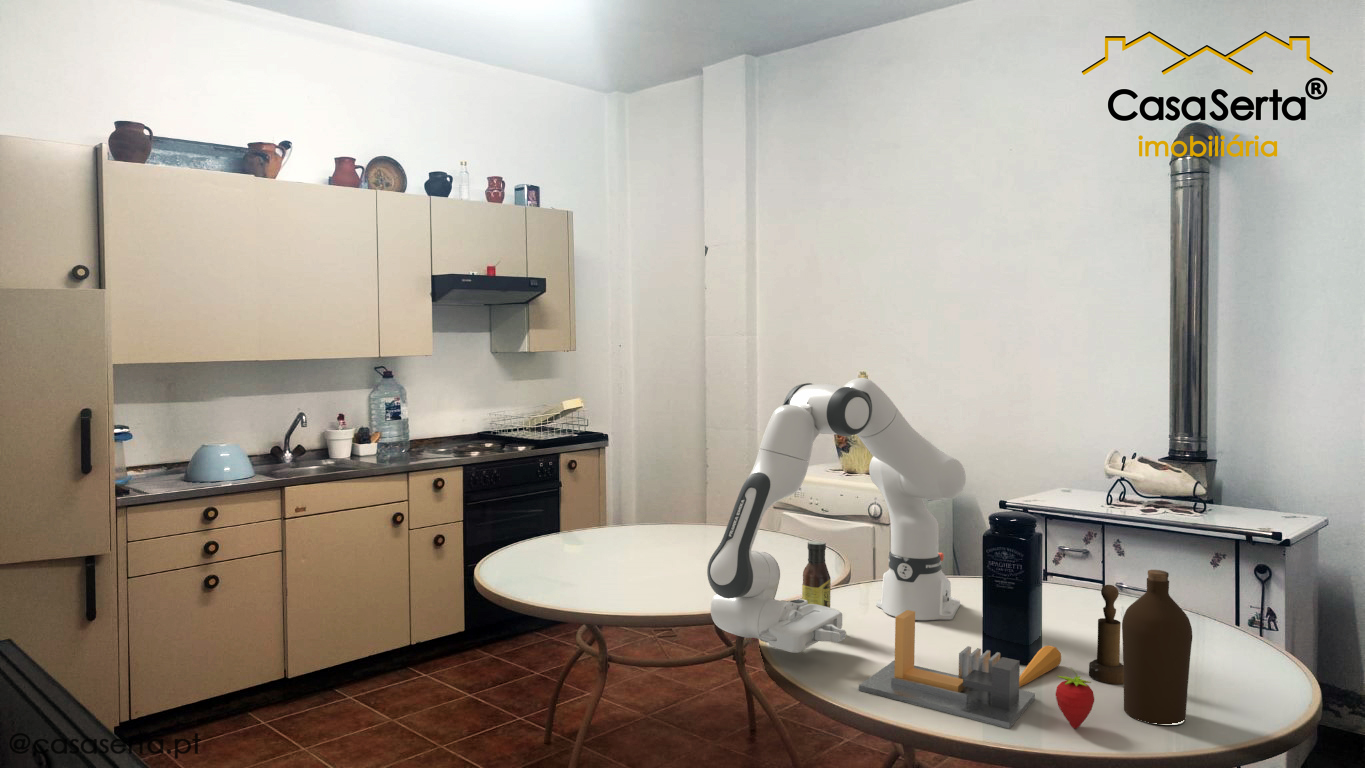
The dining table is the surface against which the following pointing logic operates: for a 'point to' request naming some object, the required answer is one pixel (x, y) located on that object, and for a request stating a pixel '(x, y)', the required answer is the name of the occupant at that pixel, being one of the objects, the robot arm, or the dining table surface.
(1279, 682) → the dining table surface
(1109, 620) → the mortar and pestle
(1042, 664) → the carrot
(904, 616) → the orange l-shaped block
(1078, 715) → the strawberry
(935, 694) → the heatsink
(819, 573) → the sauce bottle
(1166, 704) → the olive oil
